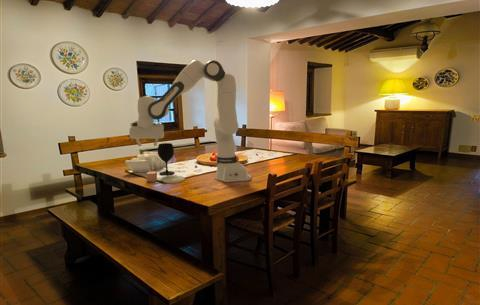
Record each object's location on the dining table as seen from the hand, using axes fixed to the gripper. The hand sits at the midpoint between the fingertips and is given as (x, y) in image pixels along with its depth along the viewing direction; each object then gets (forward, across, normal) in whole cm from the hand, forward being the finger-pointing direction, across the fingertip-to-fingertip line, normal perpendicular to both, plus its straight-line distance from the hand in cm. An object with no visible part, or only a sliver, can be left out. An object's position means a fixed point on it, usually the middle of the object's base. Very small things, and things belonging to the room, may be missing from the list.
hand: (147, 145), depth 189 cm
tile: (+21, -15, +2) cm, 26 cm away
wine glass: (+22, -8, -14) cm, 27 cm away
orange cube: (+22, -2, +2) cm, 22 cm away
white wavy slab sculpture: (+22, +8, -30) cm, 38 cm away
